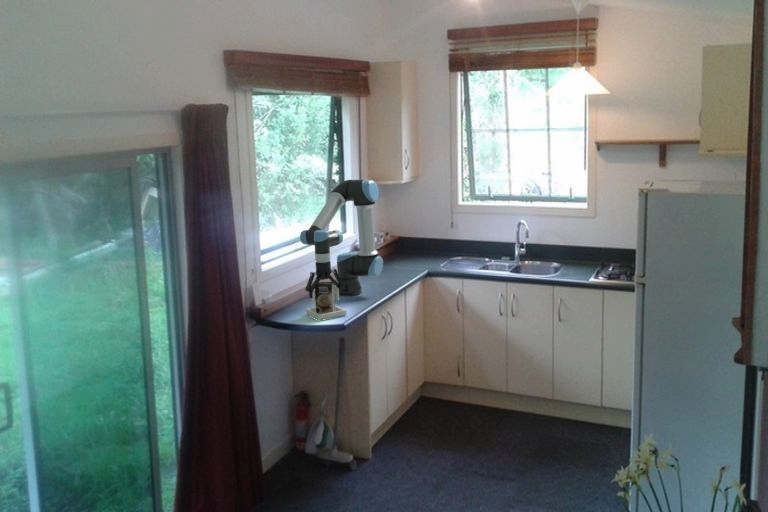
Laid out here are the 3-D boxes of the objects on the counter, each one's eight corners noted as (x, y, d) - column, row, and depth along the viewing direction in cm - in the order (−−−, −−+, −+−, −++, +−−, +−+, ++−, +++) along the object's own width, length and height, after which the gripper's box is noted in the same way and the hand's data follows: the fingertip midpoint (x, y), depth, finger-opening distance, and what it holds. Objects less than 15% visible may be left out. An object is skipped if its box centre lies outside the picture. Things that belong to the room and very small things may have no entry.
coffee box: (315, 315, 376) (314, 284, 373) (319, 311, 382) (317, 281, 379) (333, 315, 374) (331, 284, 371) (336, 312, 380) (334, 281, 377)
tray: (333, 309, 388) (332, 304, 388) (346, 315, 375) (346, 310, 375) (306, 314, 381) (305, 308, 380) (318, 321, 368) (318, 315, 367)
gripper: (341, 256, 382) (343, 296, 386) (297, 263, 370) (299, 304, 374) (348, 258, 376) (350, 299, 380) (303, 265, 364) (305, 307, 368)
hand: (325, 302), depth 377 cm, fingers open, 13 cm apart
